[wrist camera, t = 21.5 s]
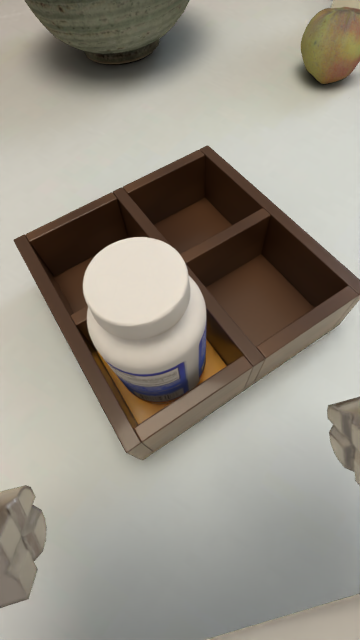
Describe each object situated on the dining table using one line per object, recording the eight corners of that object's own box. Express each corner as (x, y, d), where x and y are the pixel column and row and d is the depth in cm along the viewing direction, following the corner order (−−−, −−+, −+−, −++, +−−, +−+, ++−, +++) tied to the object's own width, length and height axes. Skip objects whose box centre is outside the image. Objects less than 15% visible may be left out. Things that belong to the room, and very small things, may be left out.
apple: (337, 106, 33) (363, 34, 28) (281, 74, 36) (294, 3, 31) (378, 83, 34) (409, 10, 29) (320, 54, 37) (339, -17, 32)
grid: (142, 460, 19) (126, 453, 15) (43, 279, 25) (12, 239, 21) (339, 325, 22) (370, 287, 18) (207, 194, 29) (207, 144, 24)
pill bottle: (158, 310, 23) (131, 200, 14) (222, 356, 21) (237, 262, 12) (102, 370, 21) (31, 287, 12) (167, 425, 19) (138, 373, 10)
